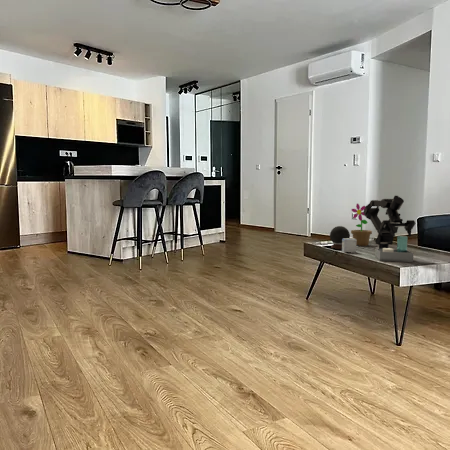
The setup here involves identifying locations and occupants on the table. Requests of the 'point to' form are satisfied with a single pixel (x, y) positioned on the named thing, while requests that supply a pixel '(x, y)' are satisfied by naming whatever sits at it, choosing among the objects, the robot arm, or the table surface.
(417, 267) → the table surface
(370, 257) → the table surface
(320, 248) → the table surface
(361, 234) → the flowerpot
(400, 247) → the teal tin
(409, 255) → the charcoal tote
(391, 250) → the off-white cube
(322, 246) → the table surface
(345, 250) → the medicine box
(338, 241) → the black round ball shape
